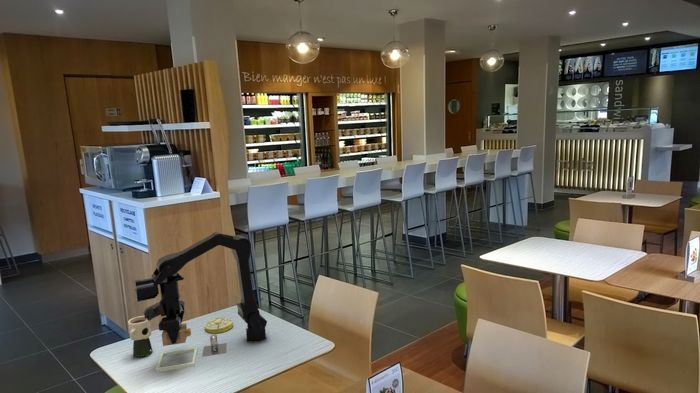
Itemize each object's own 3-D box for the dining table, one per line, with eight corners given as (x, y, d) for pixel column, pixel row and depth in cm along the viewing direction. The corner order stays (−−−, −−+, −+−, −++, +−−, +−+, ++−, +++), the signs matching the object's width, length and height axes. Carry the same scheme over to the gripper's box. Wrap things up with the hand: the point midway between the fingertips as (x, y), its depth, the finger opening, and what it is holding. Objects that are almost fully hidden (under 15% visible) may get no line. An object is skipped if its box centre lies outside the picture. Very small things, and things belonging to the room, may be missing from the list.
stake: (226, 345, 172) (225, 330, 171) (226, 355, 164) (224, 339, 163) (203, 348, 170) (202, 333, 169) (202, 358, 162) (200, 342, 161)
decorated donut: (219, 323, 193) (218, 314, 192) (238, 327, 187) (238, 318, 187) (199, 333, 184) (198, 323, 183) (219, 338, 178) (218, 328, 178)
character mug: (144, 361, 162) (140, 326, 161) (125, 361, 163) (120, 326, 161) (160, 347, 173) (156, 313, 171) (141, 347, 174) (137, 313, 172)
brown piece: (166, 337, 162) (164, 326, 161) (192, 333, 164) (190, 322, 163) (163, 346, 155) (161, 334, 155) (190, 342, 157) (188, 330, 156)
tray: (197, 351, 168) (197, 347, 167) (194, 368, 156) (194, 363, 156) (161, 357, 165) (161, 352, 165) (156, 374, 153) (155, 369, 153)
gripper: (149, 288, 164) (154, 331, 166) (138, 308, 146) (144, 355, 148) (182, 284, 167) (187, 326, 169) (176, 303, 149) (181, 349, 151)
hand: (175, 338), depth 159 cm, fingers closed on brown piece, 7 cm apart
